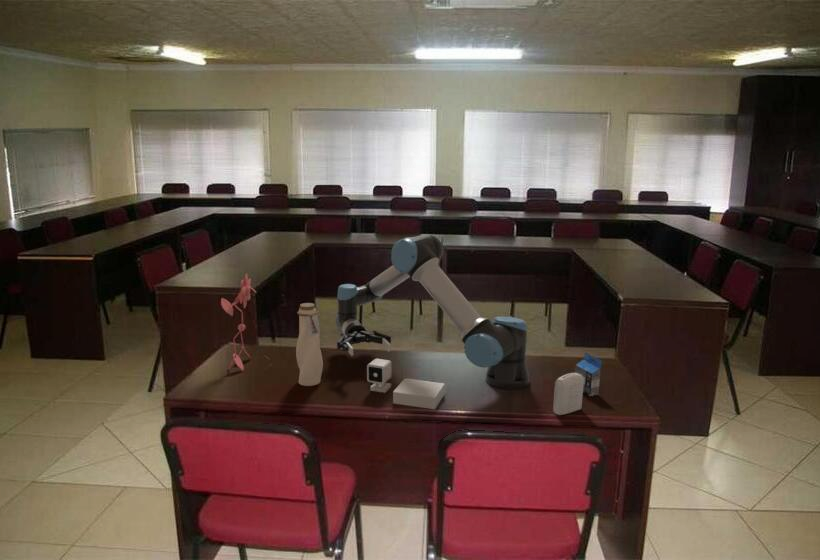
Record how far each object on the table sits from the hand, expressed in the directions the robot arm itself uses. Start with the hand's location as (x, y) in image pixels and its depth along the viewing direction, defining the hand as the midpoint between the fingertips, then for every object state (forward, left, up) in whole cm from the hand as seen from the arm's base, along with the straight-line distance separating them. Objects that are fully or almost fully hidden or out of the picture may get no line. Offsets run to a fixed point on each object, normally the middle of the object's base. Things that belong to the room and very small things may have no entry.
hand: (370, 349), depth 215 cm
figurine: (+48, +2, -11) cm, 49 cm away
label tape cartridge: (-73, -15, -11) cm, 75 cm away
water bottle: (+19, +9, -11) cm, 24 cm away
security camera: (-6, +7, -11) cm, 15 cm away
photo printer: (-68, +3, -11) cm, 69 cm away
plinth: (-21, +10, -11) cm, 26 cm away
